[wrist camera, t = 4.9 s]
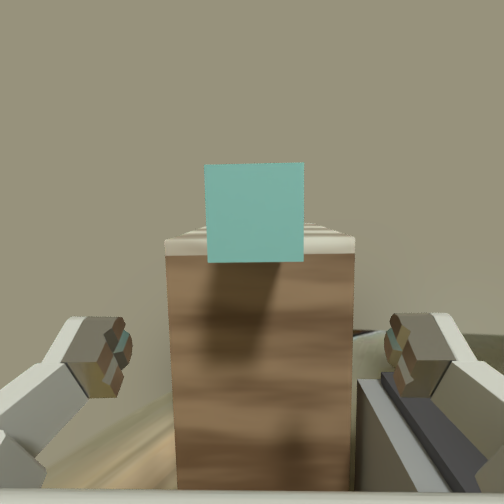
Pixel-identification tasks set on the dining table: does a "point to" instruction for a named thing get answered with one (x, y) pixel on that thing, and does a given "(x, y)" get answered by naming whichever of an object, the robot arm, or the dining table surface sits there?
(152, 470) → the dining table surface
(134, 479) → the dining table surface
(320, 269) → the stand
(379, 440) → the phone dock
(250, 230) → the long teal bar
